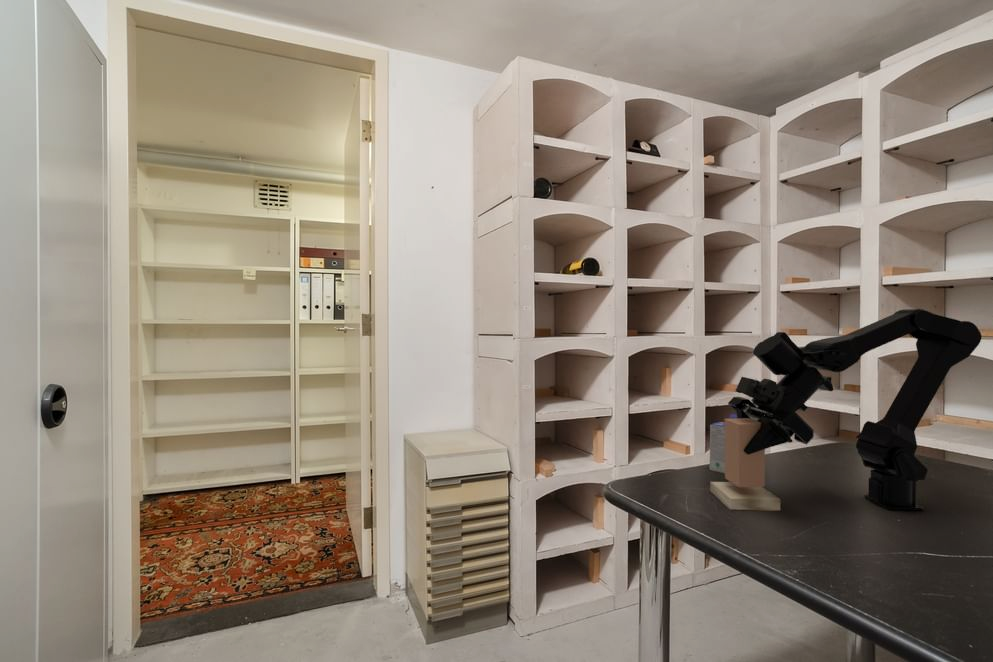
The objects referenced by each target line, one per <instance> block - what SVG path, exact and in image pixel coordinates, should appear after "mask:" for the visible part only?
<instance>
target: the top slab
mask: <svg viewBox="0 0 993 662" xmlns="http://www.w3.org/2000/svg"><path fill="white" fill-rule="evenodd" d="M709 483H710V485H709V487H710V489H709V490H710V492H711V494H712V495H714V496H715V497H716V499H718V500H719V499H720V500H721V501H722V502H723V503H724V504H725V506H726V505H727V506H728V507H729V508H730V509H750V510H749V511H768V510H780V511H781V498H779V497H778V496H776V495H774V494H773V493H772V492H770V491H769V490H767V489H766V488H764V486H762V487H738V486H737V485H735V484H733V483H732V482H730V481H710V482H709ZM720 500H719V501H720ZM721 501H720V502H721ZM722 502H721V503H722ZM723 503H722V504H723ZM724 504H723V505H724ZM727 506H726V507H727ZM728 507H727V508H728ZM729 508H728V509H729ZM730 509H729V510H730Z"/></svg>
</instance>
